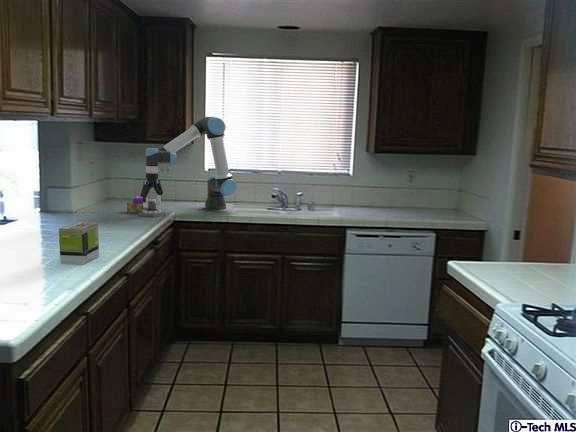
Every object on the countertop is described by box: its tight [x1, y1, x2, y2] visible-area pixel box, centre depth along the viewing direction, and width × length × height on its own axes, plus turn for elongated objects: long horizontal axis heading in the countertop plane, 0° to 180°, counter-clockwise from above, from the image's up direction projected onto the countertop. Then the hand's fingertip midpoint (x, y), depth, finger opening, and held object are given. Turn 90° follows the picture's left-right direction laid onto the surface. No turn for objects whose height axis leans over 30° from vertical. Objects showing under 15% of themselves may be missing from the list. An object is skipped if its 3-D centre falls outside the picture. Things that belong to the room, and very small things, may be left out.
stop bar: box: [126, 202, 145, 214], centre depth 352 cm, size 13×2×6 cm, turn 67°
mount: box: [137, 208, 166, 218], centre depth 345 cm, size 12×12×4 cm
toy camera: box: [132, 196, 152, 209], centre depth 359 cm, size 11×14×10 cm
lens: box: [148, 198, 157, 211], centre depth 345 cm, size 5×5×8 cm
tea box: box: [58, 222, 100, 266], centre depth 223 cm, size 15×10×15 cm, turn 175°
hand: (152, 206), depth 345 cm, fingers open, 13 cm apart
